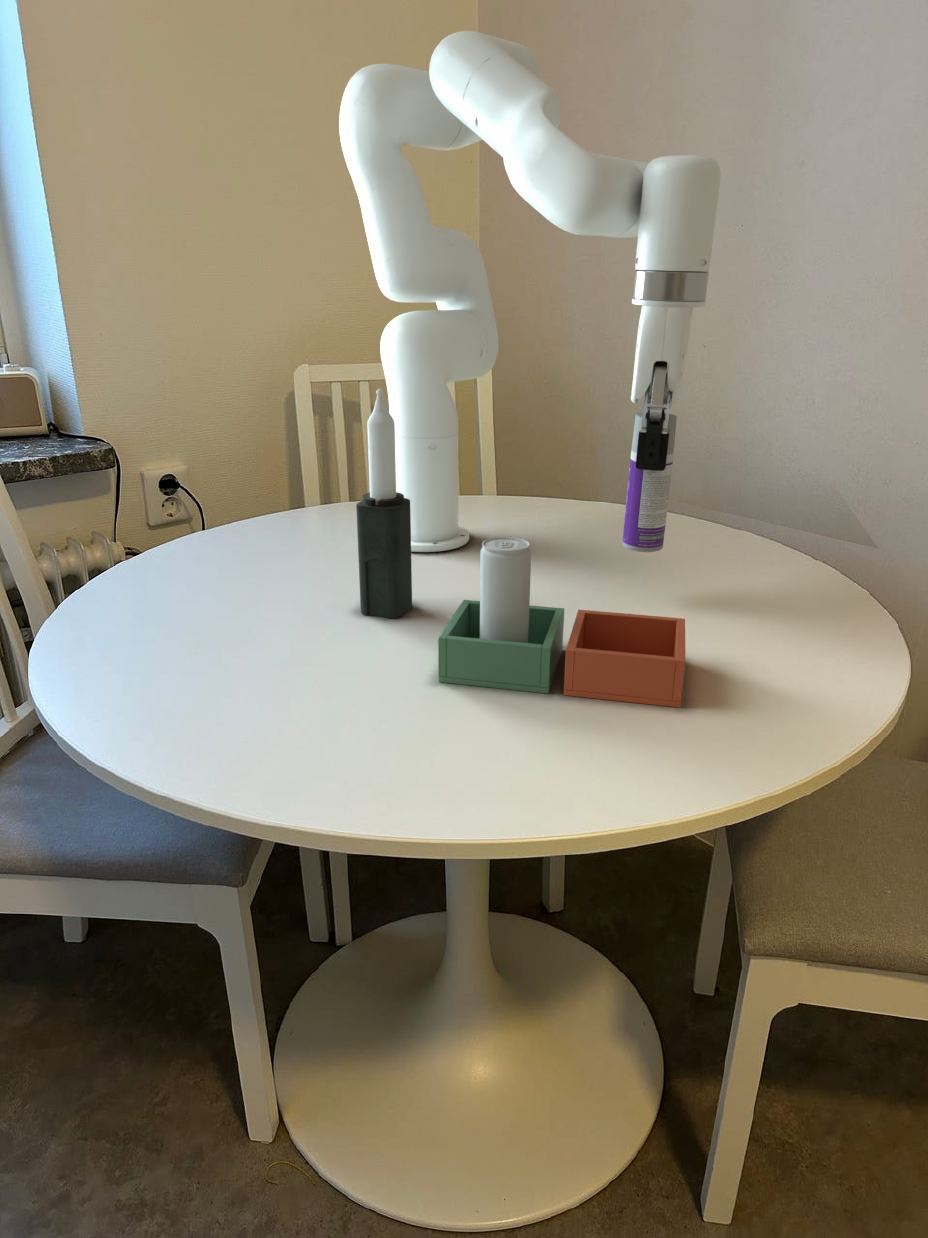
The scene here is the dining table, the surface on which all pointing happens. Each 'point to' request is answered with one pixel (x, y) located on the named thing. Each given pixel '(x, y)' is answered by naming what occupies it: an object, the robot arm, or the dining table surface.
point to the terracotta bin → (626, 658)
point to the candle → (383, 525)
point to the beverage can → (505, 589)
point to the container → (647, 497)
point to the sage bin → (501, 651)
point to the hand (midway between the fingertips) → (651, 462)
